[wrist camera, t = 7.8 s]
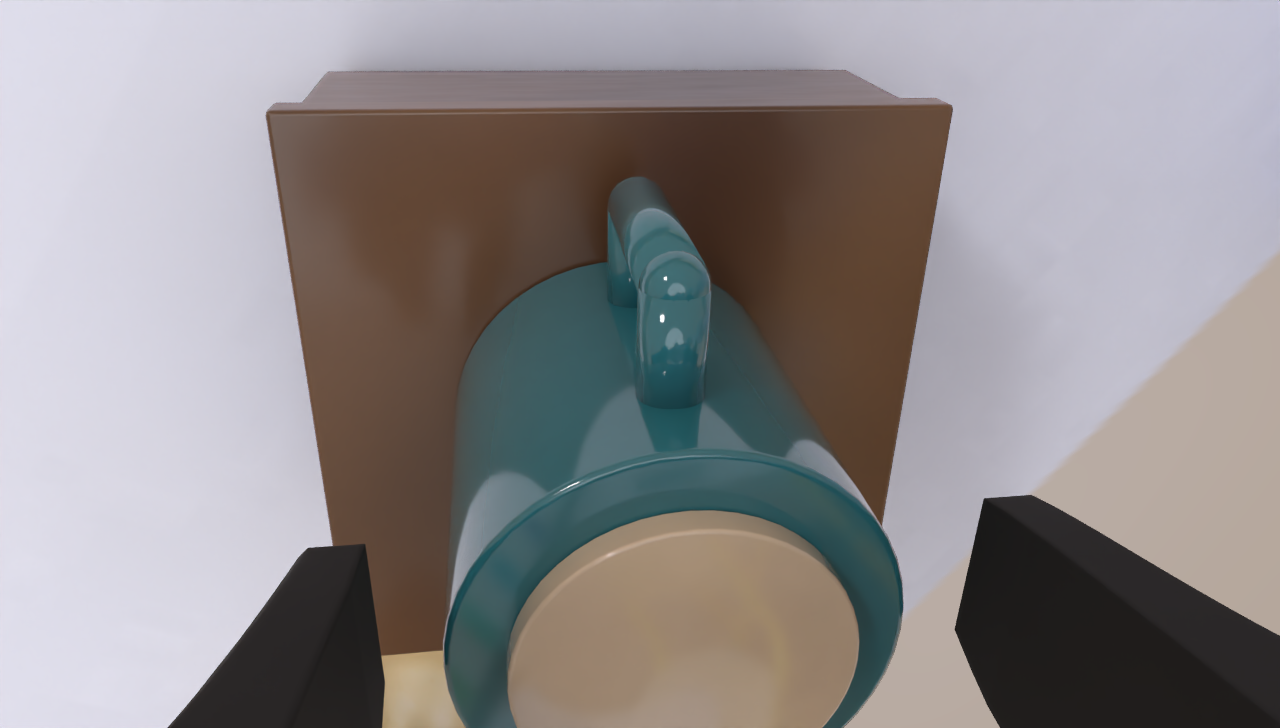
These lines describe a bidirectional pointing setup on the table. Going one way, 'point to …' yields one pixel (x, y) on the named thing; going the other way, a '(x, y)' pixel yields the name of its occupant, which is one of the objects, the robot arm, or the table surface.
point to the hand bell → (417, 692)
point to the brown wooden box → (582, 257)
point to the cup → (653, 511)
